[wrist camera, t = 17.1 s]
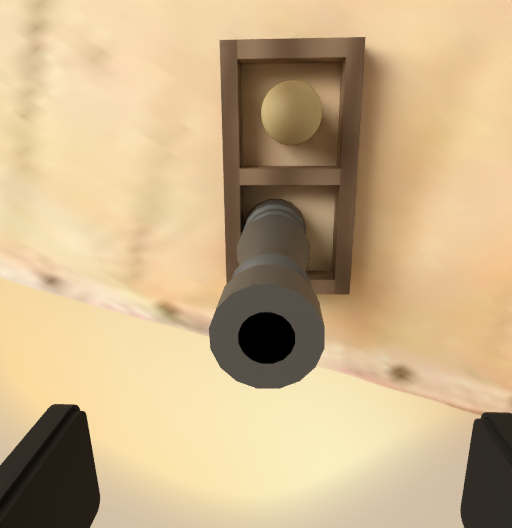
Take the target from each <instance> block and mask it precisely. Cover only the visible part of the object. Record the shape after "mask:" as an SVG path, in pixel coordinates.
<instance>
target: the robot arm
mask: <svg viewBox="0 0 512 528" xmlns="http://www.w3.org/2000/svg"><path fill="white" fill-rule="evenodd" d="M99 504H100V493H99V487H98V481H97V475H96V469H95V463H94V458H93V451H92V445H91V439H90V434H89V428H88V422H87V416H86V413H85V412H84V411H80V408H79V407H78V406H77V405H68V404H67V405H66V404H54V405H51V406H50V407H49V408H48V409H47V411H46V412H45V413H44V414H43V415H42V417H41V418H40V419H39V420H38V421H37V422H36V424H35V425H34V426H33V427H32V428H31V430H30V431H29V432H28V433H27V434H26V436H25V437H24V438H23V439H22V440H21V442H20V443H19V444H18V445H17V446H16V447H15V449H14V450H13V451H12V452H11V454H10V455H9V456H8V457H7V458H6V459H5V461H4V462H3V463H2V464H1V465H0V528H90V526H91V524H92V522H93V520H94V518H95V516H96V514H97V512H98V508H99ZM461 518H462V522H463V525H464V528H512V414H511V413H498V412H485V413H483V414H482V416H481V419H475V421H474V424H473V430H472V437H471V443H470V450H469V456H468V464H467V470H466V476H465V483H464V490H463V496H462V502H461Z"/></svg>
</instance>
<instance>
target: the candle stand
mask: <svg viewBox="0 0 512 528" xmlns="http://www.w3.org/2000/svg"><path fill="white" fill-rule="evenodd" d="M364 49H365V37H353V38H301V39H250V40H220V66H221V101H222V136H223V171H224V206H225V242H226V277H227V284H228V283H229V282H230V281H231V279H232V276H233V274H234V271H235V270H236V269H237V268H238V267H239V266H240V265H239V263H238V261H237V245H238V242H239V240H240V237H241V234H242V232H243V185H336V192H335V213H334V234H333V255H332V271H306V273H307V275H308V278H309V280H310V282H311V285H312V288H313V290H314V292H315V294H349V292H350V276H351V259H352V243H353V227H354V211H355V195H356V179H357V162H358V146H359V130H360V114H361V98H362V81H363V65H364ZM335 62H342V67H341V88H340V109H339V130H338V151H337V166H242V120H241V64H273V63H335ZM261 118H262V122H263V125H264V128H265V130H266V131H267V133H268V134H269V135H270V136H271V137H272V138H273V139H275V140H276V141H278V142H280V143H283V144H287V145H294V144H299V143H302V142H304V141H306V140H308V139H309V138H310V137H312V136H313V135H314V133H315V132H316V131H317V129H318V127H319V125H320V123H321V119H322V104H321V100H320V98H319V96H318V94H317V93H316V91H315V90H314V89H313V88H312V87H311V86H309V85H308V84H306V83H304V82H301V81H297V80H288V81H284V82H281V83H279V84H277V85H276V86H274V87H273V88H272V89H271V90H270V91H269V92H268V93H267V95H266V97H265V99H264V101H263V104H262V109H261Z"/></svg>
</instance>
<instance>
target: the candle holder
mask: <svg viewBox="0 0 512 528" xmlns="http://www.w3.org/2000/svg"><path fill="white" fill-rule="evenodd" d="M309 260H310V244H309V242H308V239H307V237H306V226H305V222H304V219H303V217H302V215H301V213H300V211H299V210H298V209H297V208H296V207H295V206H294V205H293V204H292V203H290V202H287V201H285V200H282V199H268V200H266V201H263V202H261V203H259V204H257V205H256V207H255V208H254V209H253V210H252V211H251V212H250V213H249V216H248V218H247V221H246V224H245V226H244V229H243V232H242V234H241V237H240V240H239V242H238V245H237V261H238V263H239V265H240V266H239V267H238V268H237V269H236V270H235V271H234V274H233V276H232V279H231V281H230V282H229V283H228V284H227V285H226V286H225V287H224V290H223V292H222V295H221V298H220V300H219V303H218V306H217V308H216V311H215V314H214V316H213V319H212V322H211V325H210V327H209V335H210V348H211V351H212V353H213V354H214V356H215V358H216V360H217V362H218V364H219V366H220V367H221V368H222V369H223V370H224V371H225V372H227V373H228V374H229V375H230V376H231V377H232V378H234V379H235V380H236V381H238V382H241V383H244V384H246V385H249V386H252V387H255V388H282V387H285V386H287V385H290V384H293V383H296V382H298V381H300V380H301V379H303V378H304V377H305V376H306V375H307V374H308V373H309V372H310V371H312V370H313V369H314V368H315V367H316V365H317V363H318V361H319V359H320V356H321V354H322V352H323V350H324V323H323V318H322V314H321V309H320V304H319V301H318V299H317V297H316V294H315V292H314V290H313V288H312V285H311V282H310V280H309V278H308V275H307V273H306V271H305V269H306V267H307V265H308V262H309Z"/></svg>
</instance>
